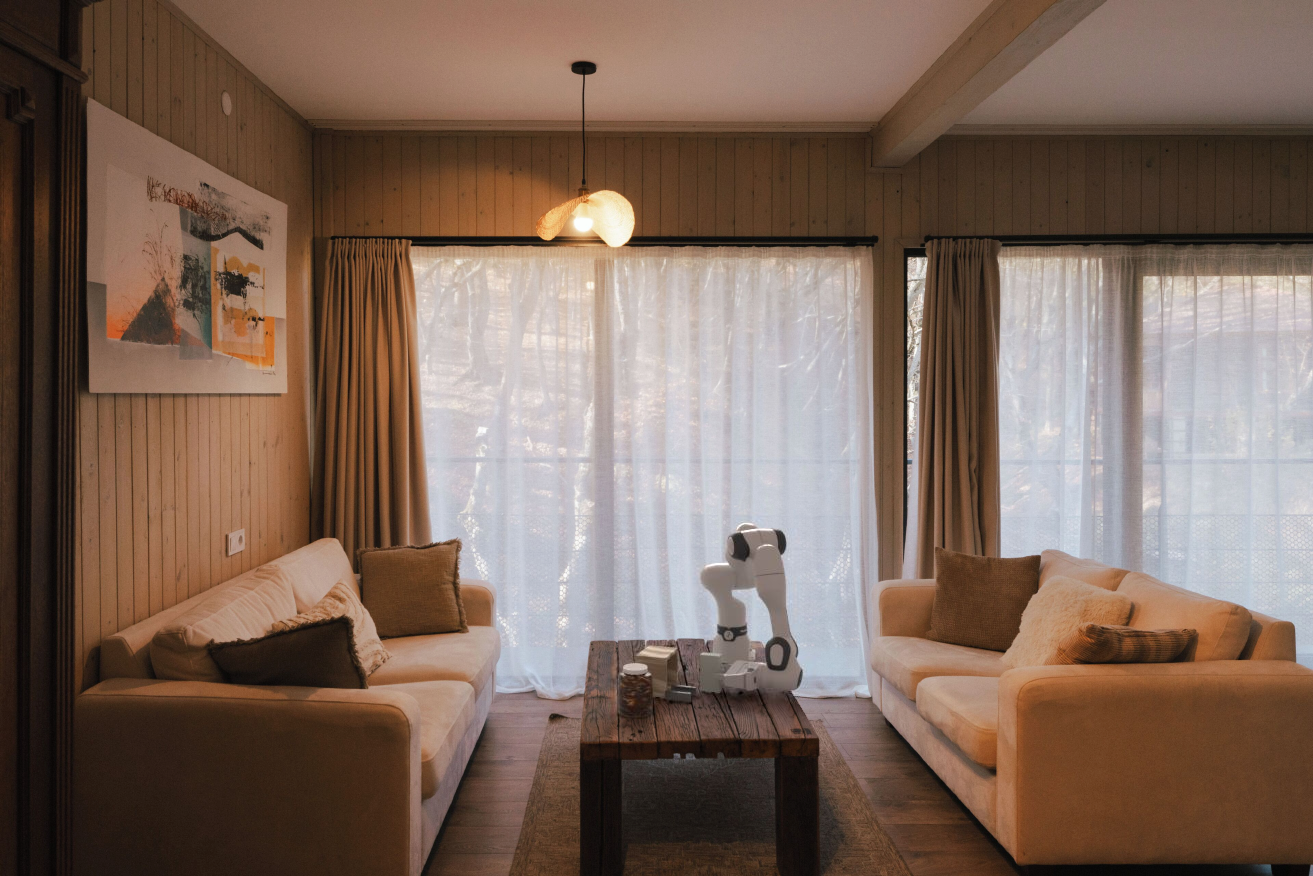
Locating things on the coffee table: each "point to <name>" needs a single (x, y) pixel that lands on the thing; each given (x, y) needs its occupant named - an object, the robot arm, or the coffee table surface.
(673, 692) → the dark parallel flat bars
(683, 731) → the coffee table surface
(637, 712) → the jar
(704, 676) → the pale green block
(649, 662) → the cabinet
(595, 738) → the coffee table surface
